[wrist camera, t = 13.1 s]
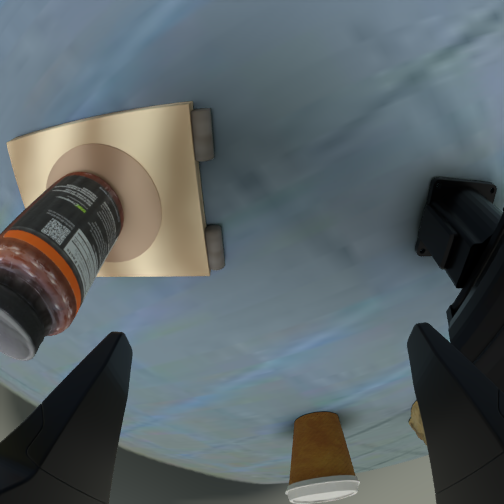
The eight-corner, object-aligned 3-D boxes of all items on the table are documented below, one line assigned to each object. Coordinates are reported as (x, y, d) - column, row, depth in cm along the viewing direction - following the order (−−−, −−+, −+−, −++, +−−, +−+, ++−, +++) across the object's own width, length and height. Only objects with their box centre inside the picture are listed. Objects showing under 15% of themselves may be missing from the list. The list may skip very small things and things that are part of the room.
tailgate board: (211, 99, 17) (207, 102, 16) (226, 265, 24) (224, 277, 23) (15, 137, 17) (4, 143, 16) (58, 267, 24) (51, 277, 23)
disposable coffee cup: (270, 428, 41) (271, 503, 31) (308, 401, 36) (316, 490, 26) (322, 435, 43) (329, 503, 33) (363, 410, 38) (376, 487, 28)
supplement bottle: (58, 238, 21) (-20, 353, 12) (49, 164, 17) (-65, 268, 8) (128, 251, 21) (65, 387, 12) (127, 172, 18) (27, 300, 9)
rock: (427, 431, 42) (469, 410, 36) (412, 468, 36) (459, 450, 30) (390, 399, 45) (431, 373, 39) (372, 435, 39) (417, 413, 33)
